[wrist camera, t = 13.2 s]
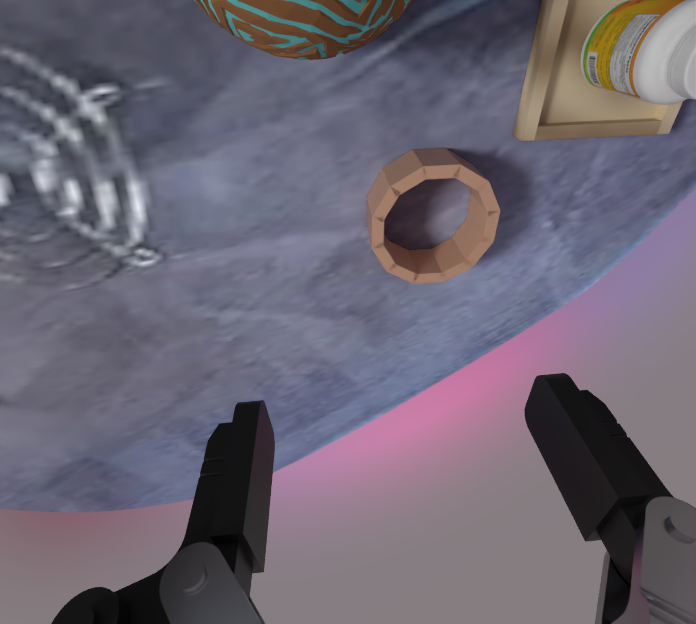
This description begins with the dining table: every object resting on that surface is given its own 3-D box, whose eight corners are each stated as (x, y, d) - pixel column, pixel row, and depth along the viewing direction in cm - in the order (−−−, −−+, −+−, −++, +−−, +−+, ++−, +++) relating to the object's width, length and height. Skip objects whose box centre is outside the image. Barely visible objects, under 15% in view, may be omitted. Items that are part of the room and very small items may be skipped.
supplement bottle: (673, 16, 27) (810, 17, 20) (619, 98, 31) (720, 127, 23) (612, -15, 26) (733, -26, 19) (562, 74, 29) (649, 96, 22)
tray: (555, -64, 25) (569, -68, 24) (735, -70, 26) (760, -75, 24) (512, 135, 33) (521, 140, 31) (653, 128, 33) (668, 133, 31)
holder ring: (366, 151, 33) (372, 168, 29) (490, 145, 33) (511, 161, 29) (366, 261, 39) (371, 286, 35) (470, 255, 39) (485, 279, 36)
